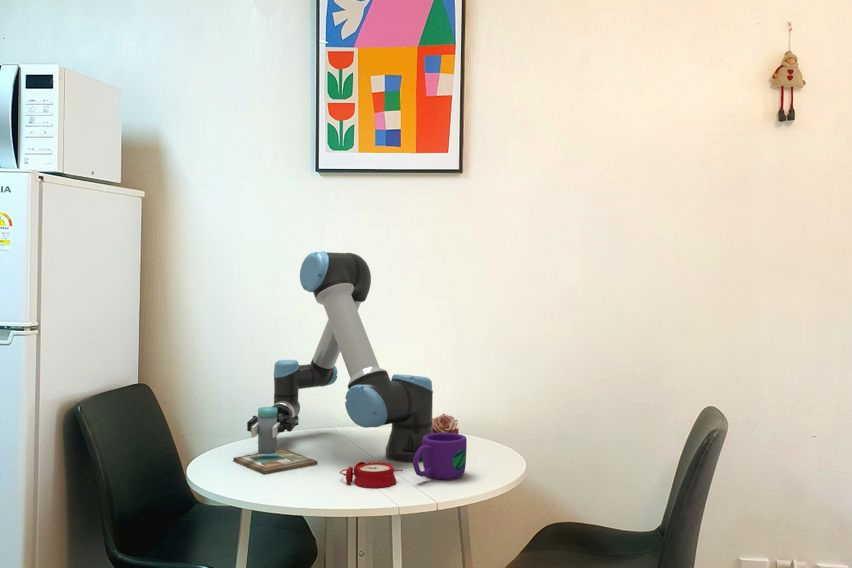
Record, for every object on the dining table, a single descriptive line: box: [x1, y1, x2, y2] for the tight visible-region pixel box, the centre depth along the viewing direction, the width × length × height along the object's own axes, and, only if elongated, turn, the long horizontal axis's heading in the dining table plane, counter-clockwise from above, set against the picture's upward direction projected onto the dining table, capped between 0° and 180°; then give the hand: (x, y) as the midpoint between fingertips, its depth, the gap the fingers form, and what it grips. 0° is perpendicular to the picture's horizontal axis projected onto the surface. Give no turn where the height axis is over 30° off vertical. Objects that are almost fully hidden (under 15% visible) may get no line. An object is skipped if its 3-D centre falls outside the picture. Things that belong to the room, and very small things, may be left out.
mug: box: [412, 433, 468, 481], centre depth 180 cm, size 17×11×10 cm, turn 138°
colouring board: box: [232, 449, 318, 476], centre depth 194 cm, size 18×16×1 cm
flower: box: [432, 413, 460, 434], centre depth 223 cm, size 10×9×8 cm
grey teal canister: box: [257, 406, 278, 454], centre depth 195 cm, size 5×5×12 cm
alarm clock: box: [339, 461, 404, 489], centre depth 176 cm, size 10×6×15 cm
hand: (263, 432), depth 189 cm, fingers closed on grey teal canister, 5 cm apart
